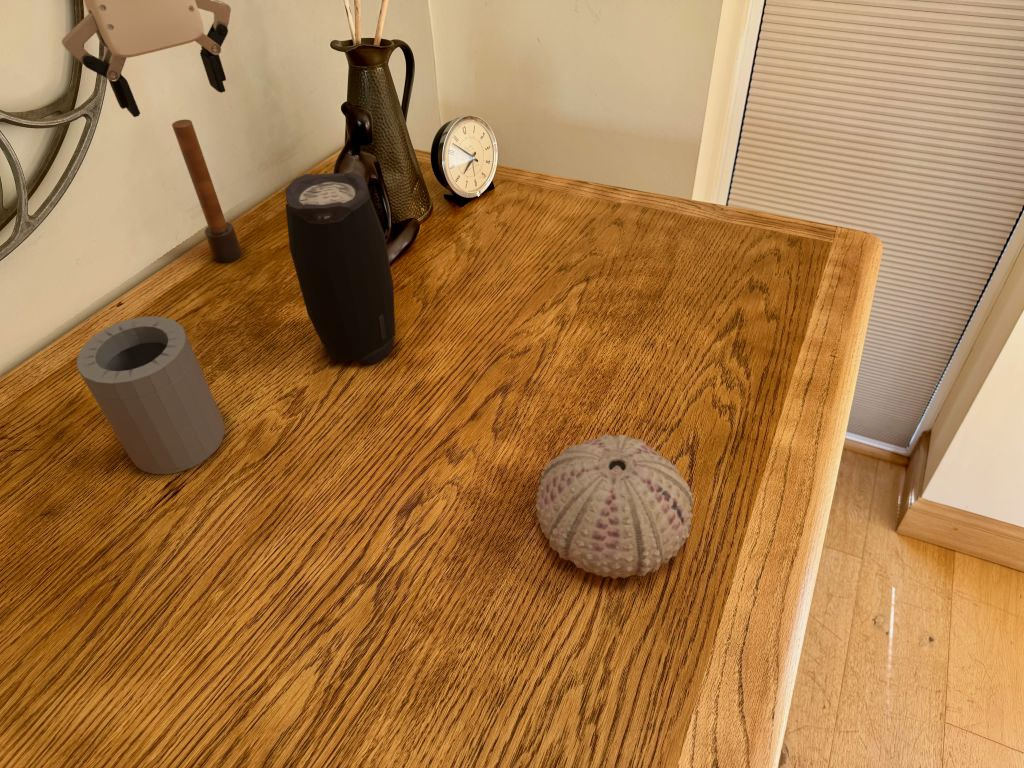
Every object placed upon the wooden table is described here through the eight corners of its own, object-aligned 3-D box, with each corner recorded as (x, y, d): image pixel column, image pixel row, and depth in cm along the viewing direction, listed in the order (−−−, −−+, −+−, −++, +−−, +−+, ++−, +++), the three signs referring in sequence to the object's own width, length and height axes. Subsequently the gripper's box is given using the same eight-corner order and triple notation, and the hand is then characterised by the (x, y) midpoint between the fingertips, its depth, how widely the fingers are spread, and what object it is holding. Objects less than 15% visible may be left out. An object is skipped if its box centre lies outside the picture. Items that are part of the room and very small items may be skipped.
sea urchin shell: (643, 448, 70) (652, 388, 64) (719, 562, 60) (738, 502, 55) (513, 488, 66) (511, 428, 61) (573, 614, 57) (576, 557, 52)
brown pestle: (209, 262, 95) (159, 129, 82) (220, 247, 97) (174, 116, 85) (235, 263, 94) (189, 130, 82) (246, 248, 97) (203, 117, 85)
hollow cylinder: (112, 470, 69) (54, 378, 61) (158, 404, 76) (111, 313, 67) (200, 478, 68) (154, 386, 60) (239, 411, 75) (202, 319, 66)
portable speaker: (308, 340, 83) (263, 182, 69) (382, 312, 86) (354, 157, 73) (336, 382, 77) (294, 221, 64) (415, 351, 81) (390, 191, 67)
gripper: (188, -96, 76) (237, 71, 88) (9, -65, 69) (89, 111, 81) (214, -85, 71) (262, 89, 83) (25, -51, 64) (107, 134, 76)
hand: (177, 100), depth 82 cm, fingers open, 9 cm apart
